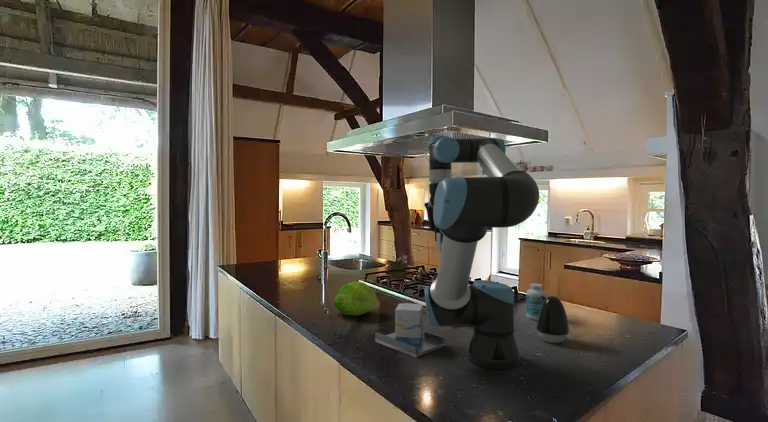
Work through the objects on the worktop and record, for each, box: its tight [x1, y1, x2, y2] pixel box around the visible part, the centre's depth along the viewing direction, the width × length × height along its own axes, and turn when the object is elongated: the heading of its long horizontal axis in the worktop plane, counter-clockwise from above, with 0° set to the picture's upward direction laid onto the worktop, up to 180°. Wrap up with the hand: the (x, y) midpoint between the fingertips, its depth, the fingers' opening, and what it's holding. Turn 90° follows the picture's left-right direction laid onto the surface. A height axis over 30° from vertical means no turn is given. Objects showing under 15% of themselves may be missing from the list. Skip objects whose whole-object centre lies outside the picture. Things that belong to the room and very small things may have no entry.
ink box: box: [394, 302, 424, 346], centre depth 136 cm, size 9×8×12 cm
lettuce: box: [333, 281, 381, 317], centre depth 170 cm, size 15×20×14 cm
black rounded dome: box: [536, 295, 570, 344], centre depth 138 cm, size 10×10×15 cm
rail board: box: [374, 329, 446, 359], centre depth 137 cm, size 19×14×3 cm
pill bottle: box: [525, 282, 547, 321], centre depth 163 cm, size 8×7×14 cm
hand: (440, 251), depth 140 cm, fingers closed
